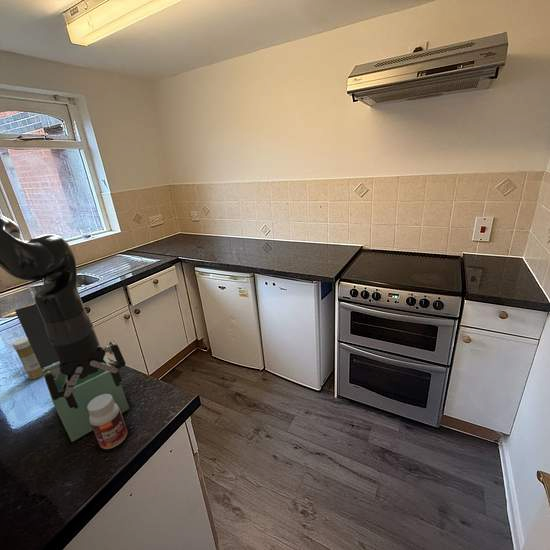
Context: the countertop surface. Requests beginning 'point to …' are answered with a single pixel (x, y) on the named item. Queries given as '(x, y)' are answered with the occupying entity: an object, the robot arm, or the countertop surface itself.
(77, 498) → the countertop surface
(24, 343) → the sprinkles bottle
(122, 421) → the pill bottle
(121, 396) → the mint green storage bin
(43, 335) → the pod lid
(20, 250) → the robot arm
